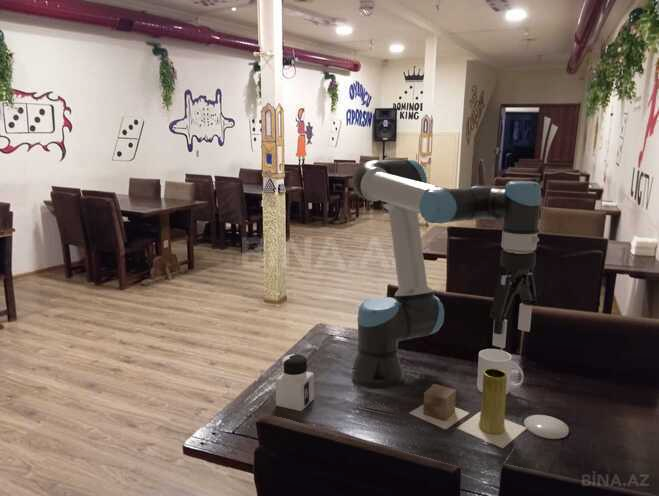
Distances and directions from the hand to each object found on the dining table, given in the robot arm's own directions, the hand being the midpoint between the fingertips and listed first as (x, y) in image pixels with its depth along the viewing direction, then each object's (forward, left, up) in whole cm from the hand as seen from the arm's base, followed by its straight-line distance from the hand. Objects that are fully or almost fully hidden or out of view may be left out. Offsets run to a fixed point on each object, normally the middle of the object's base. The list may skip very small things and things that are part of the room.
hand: (511, 338), depth 121 cm
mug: (-10, +16, -23) cm, 30 cm away
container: (-46, -28, -23) cm, 59 cm away
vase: (-2, -3, -23) cm, 23 cm away
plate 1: (-15, -6, -23) cm, 28 cm away
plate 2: (-2, -3, -23) cm, 23 cm away
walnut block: (-15, -6, -23) cm, 28 cm away
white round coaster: (+7, +7, -23) cm, 25 cm away
